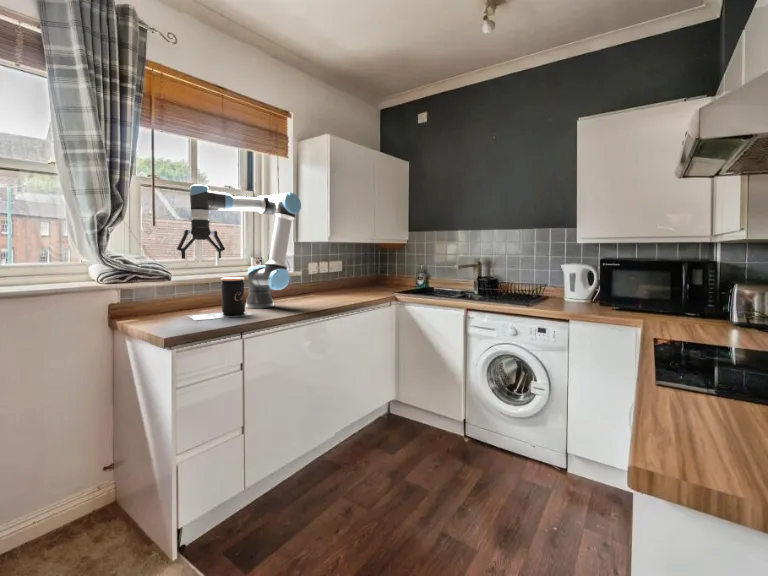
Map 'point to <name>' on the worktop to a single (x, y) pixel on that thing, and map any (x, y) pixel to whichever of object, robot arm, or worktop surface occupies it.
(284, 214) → the robot arm
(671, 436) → the worktop surface
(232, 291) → the coffee jar
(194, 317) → the label board
